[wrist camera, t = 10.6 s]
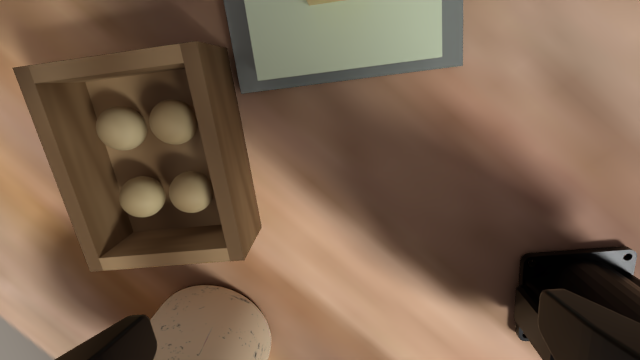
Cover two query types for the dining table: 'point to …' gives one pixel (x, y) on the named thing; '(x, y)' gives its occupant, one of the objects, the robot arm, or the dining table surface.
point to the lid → (340, 34)
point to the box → (147, 154)
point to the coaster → (250, 83)
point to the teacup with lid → (210, 326)
